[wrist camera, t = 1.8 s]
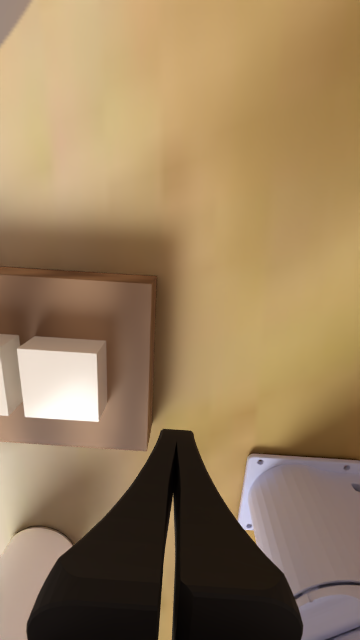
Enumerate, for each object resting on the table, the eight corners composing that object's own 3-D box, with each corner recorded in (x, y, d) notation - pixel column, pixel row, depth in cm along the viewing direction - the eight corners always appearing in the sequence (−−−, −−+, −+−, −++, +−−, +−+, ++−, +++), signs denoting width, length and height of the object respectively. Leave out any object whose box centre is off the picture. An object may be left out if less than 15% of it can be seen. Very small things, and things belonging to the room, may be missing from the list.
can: (1, 526, 27) (-132, 739, 16) (68, 521, 27) (-20, 737, 15) (21, 573, 29) (-85, 795, 18) (84, 569, 29) (16, 794, 17)
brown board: (156, 276, 20) (151, 284, 17) (151, 424, 24) (146, 451, 21) (-46, 263, 20) (-85, 269, 17) (-21, 412, 24) (-49, 438, 21)
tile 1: (106, 340, 18) (96, 353, 16) (107, 403, 20) (98, 421, 18) (34, 336, 18) (16, 348, 16) (40, 398, 20) (25, 417, 18)
